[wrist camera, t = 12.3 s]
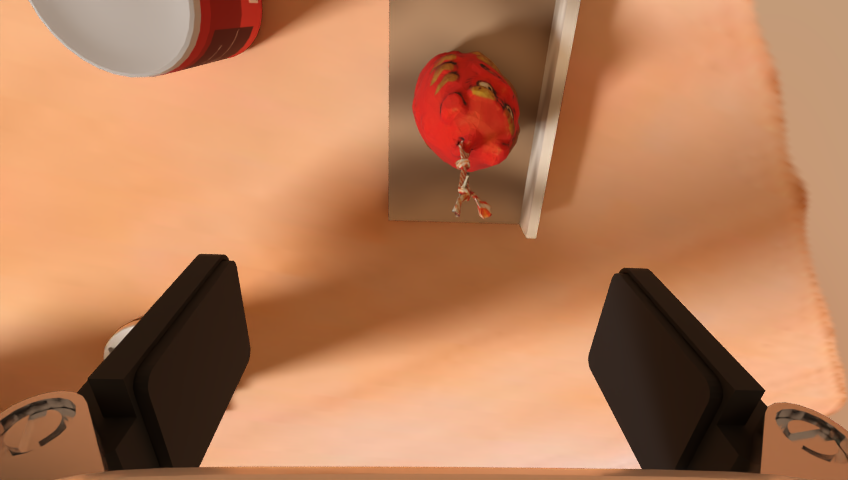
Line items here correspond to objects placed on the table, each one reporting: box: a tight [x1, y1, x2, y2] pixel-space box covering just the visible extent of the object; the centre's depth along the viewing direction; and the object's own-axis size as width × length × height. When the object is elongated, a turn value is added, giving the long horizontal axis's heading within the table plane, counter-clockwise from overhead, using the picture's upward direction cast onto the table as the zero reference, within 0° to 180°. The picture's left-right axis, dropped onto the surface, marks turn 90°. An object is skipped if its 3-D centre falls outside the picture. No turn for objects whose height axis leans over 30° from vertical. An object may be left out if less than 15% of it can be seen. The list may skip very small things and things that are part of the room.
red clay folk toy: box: [412, 51, 520, 219], centre depth 25 cm, size 8×7×15 cm
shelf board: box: [389, 0, 581, 239], centre depth 31 cm, size 20×12×4 cm, turn 178°
